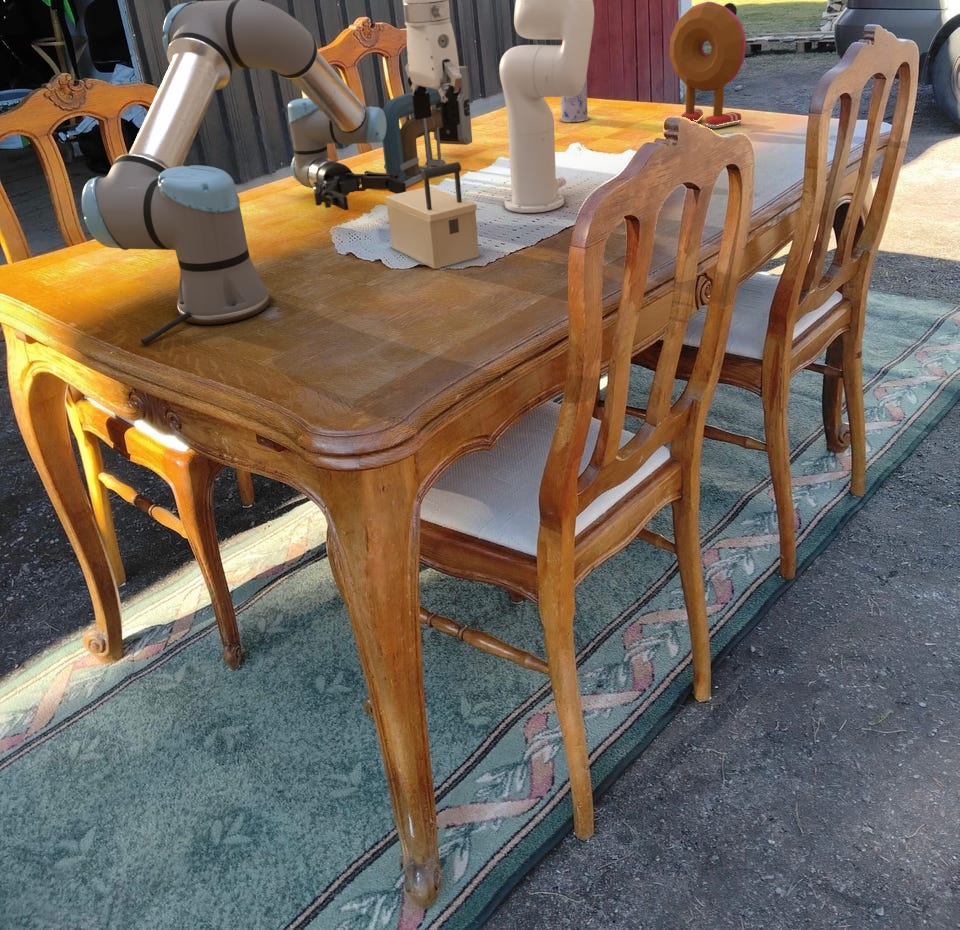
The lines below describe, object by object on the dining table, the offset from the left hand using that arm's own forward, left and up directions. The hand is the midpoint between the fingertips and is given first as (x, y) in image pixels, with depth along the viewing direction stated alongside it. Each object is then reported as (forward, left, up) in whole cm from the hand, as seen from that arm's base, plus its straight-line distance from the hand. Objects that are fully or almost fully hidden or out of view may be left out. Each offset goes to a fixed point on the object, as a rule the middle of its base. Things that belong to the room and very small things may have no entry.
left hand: (375, 196), depth 199 cm
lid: (-16, -18, +3) cm, 24 cm away
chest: (-16, -18, -6) cm, 25 cm away
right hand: (-20, -22, +19) cm, 35 cm away
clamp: (+44, +6, -6) cm, 44 cm away
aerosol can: (+100, -20, -6) cm, 102 cm away
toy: (+92, -58, -6) cm, 109 cm away
